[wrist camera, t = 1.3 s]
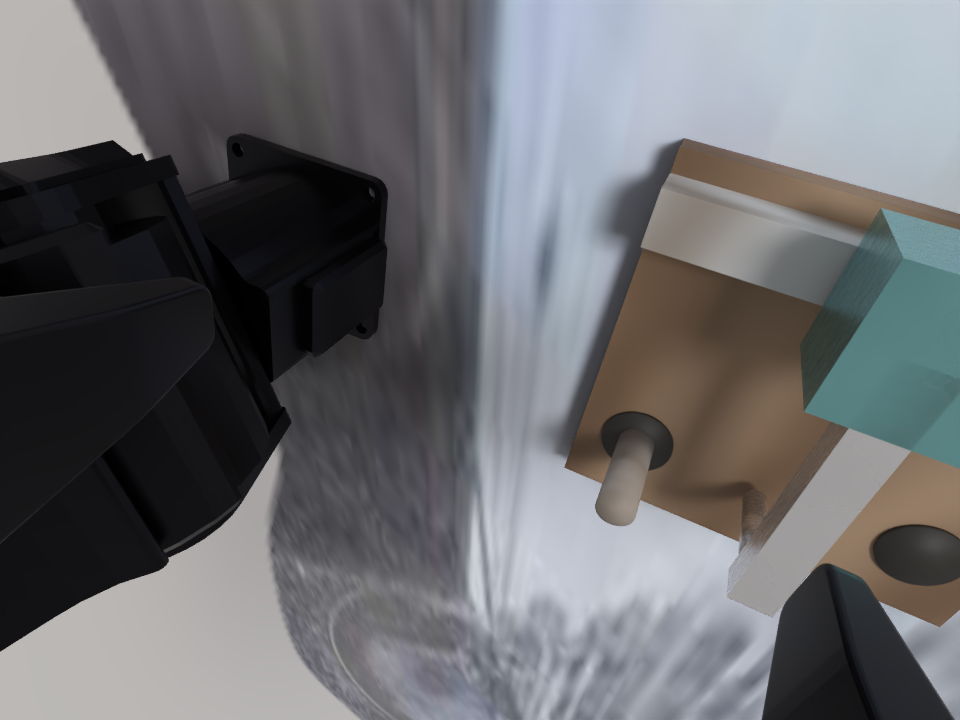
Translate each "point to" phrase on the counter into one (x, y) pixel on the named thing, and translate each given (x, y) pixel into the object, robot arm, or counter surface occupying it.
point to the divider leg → (862, 400)
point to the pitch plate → (752, 371)
